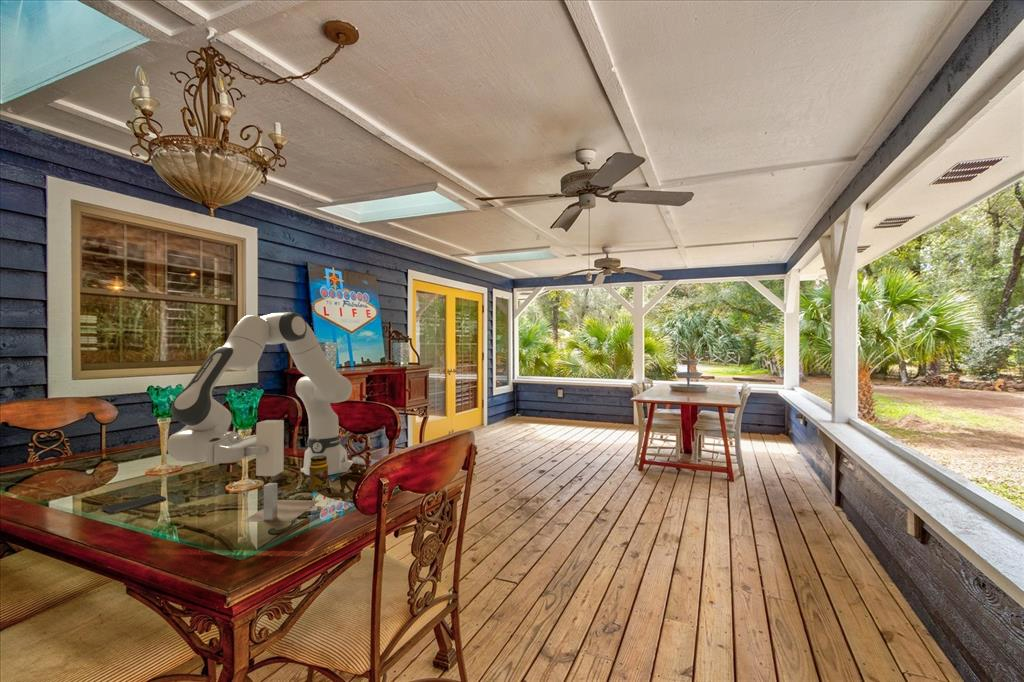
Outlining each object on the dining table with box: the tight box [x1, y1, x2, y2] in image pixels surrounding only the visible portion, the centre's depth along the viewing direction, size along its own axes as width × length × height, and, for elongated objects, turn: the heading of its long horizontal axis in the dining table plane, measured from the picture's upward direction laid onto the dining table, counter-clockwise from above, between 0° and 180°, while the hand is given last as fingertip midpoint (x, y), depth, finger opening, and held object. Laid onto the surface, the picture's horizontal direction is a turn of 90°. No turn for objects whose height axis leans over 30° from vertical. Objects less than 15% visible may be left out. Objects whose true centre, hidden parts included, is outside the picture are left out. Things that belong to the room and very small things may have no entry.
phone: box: [101, 494, 167, 514], centre depth 151 cm, size 8×1×15 cm
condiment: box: [308, 455, 329, 492], centre depth 165 cm, size 7×8×12 cm
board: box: [243, 499, 319, 523], centre depth 143 cm, size 18×14×1 cm
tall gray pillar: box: [255, 419, 285, 477], centre depth 136 cm, size 5×5×15 cm
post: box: [263, 482, 278, 521], centre depth 136 cm, size 3×3×10 cm
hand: (273, 447), depth 136 cm, fingers closed on tall gray pillar, 5 cm apart
